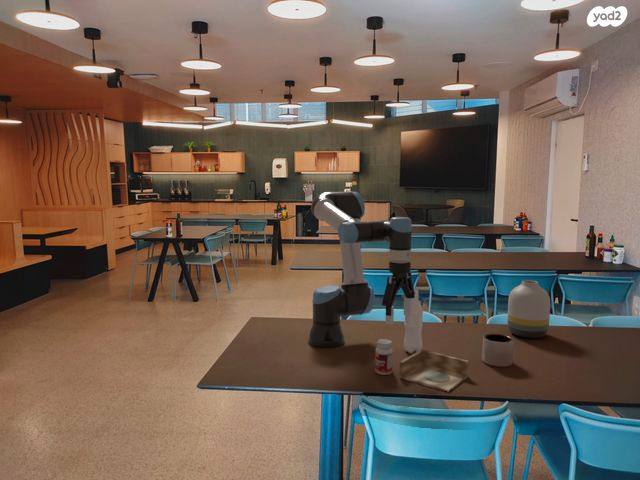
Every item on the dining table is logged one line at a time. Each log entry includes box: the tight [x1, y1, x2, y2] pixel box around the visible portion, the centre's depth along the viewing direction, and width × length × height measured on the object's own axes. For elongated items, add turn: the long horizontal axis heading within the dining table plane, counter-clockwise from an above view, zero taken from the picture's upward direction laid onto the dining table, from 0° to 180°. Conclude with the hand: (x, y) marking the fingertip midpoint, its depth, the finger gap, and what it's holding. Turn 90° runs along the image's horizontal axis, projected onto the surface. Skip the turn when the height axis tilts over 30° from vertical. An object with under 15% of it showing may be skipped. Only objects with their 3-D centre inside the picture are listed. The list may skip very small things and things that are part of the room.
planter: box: [481, 332, 514, 368], centre depth 177 cm, size 11×11×10 cm
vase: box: [507, 279, 551, 339], centre depth 209 cm, size 17×17×24 cm
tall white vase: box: [403, 289, 424, 354], centre depth 188 cm, size 7×7×25 cm
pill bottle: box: [374, 338, 394, 376], centre depth 168 cm, size 6×6×11 cm
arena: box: [399, 348, 470, 393], centre depth 164 cm, size 18×16×6 cm
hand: (398, 319), depth 169 cm, fingers open, 13 cm apart
